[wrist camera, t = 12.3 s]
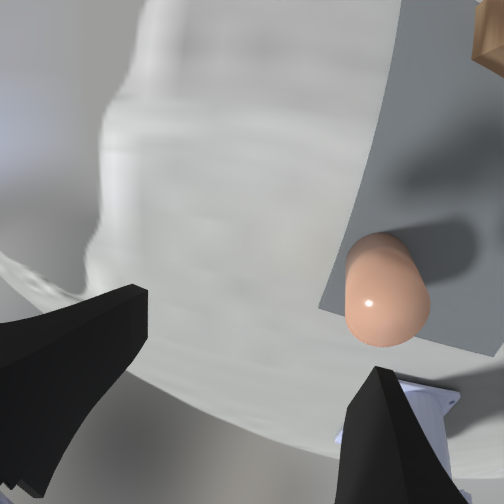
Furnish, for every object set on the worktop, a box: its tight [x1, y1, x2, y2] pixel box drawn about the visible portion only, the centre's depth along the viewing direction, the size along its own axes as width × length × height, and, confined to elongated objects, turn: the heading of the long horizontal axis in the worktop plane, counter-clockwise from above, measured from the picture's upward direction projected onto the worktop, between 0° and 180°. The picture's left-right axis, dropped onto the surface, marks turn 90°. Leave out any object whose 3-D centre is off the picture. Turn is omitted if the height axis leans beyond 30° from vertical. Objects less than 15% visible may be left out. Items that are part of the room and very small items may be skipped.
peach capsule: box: [345, 233, 431, 347], centre depth 15 cm, size 4×4×5 cm
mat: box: [318, 0, 504, 357], centre depth 13 cm, size 22×15×1 cm
